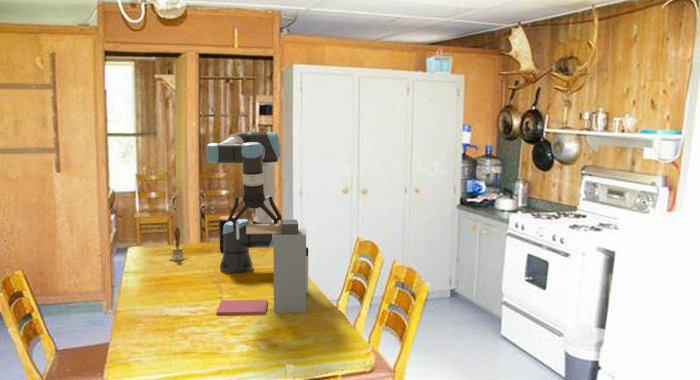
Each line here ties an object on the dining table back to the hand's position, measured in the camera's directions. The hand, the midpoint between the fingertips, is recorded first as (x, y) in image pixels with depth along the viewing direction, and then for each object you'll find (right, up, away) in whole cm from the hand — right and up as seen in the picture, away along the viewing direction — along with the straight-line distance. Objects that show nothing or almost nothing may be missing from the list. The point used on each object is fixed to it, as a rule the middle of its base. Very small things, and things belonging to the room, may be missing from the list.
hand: (255, 237), depth 220 cm
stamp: (+7, +2, -5) cm, 9 cm away
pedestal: (+13, -27, +1) cm, 30 cm away
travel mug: (+16, -25, +17) cm, 34 cm away
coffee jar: (-27, -14, +83) cm, 88 cm away
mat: (-5, -27, 0) cm, 27 cm away
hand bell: (-50, -16, +66) cm, 84 cm away
